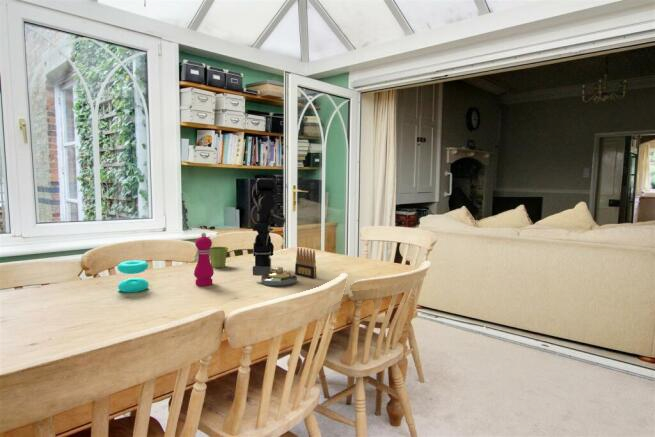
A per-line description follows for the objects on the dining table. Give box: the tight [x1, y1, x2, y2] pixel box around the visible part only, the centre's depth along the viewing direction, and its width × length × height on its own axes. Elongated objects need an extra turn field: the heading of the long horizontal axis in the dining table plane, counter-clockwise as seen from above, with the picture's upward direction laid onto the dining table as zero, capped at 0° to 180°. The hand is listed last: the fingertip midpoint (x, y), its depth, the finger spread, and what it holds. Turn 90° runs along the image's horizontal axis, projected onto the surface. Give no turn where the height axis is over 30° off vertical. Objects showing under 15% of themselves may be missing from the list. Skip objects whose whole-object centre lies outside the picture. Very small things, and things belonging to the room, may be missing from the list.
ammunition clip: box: [294, 247, 317, 280], centre depth 173 cm, size 11×2×12 cm, turn 52°
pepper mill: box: [193, 232, 215, 287], centre depth 157 cm, size 7×7×20 cm
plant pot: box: [209, 246, 229, 269], centre depth 188 cm, size 9×9×9 cm
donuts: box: [117, 259, 149, 293], centre depth 148 cm, size 10×10×10 cm
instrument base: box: [260, 274, 298, 288], centre depth 163 cm, size 14×14×3 cm
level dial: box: [252, 265, 291, 279], centre depth 162 cm, size 15×9×4 cm, turn 85°
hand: (265, 245), depth 172 cm, fingers closed
